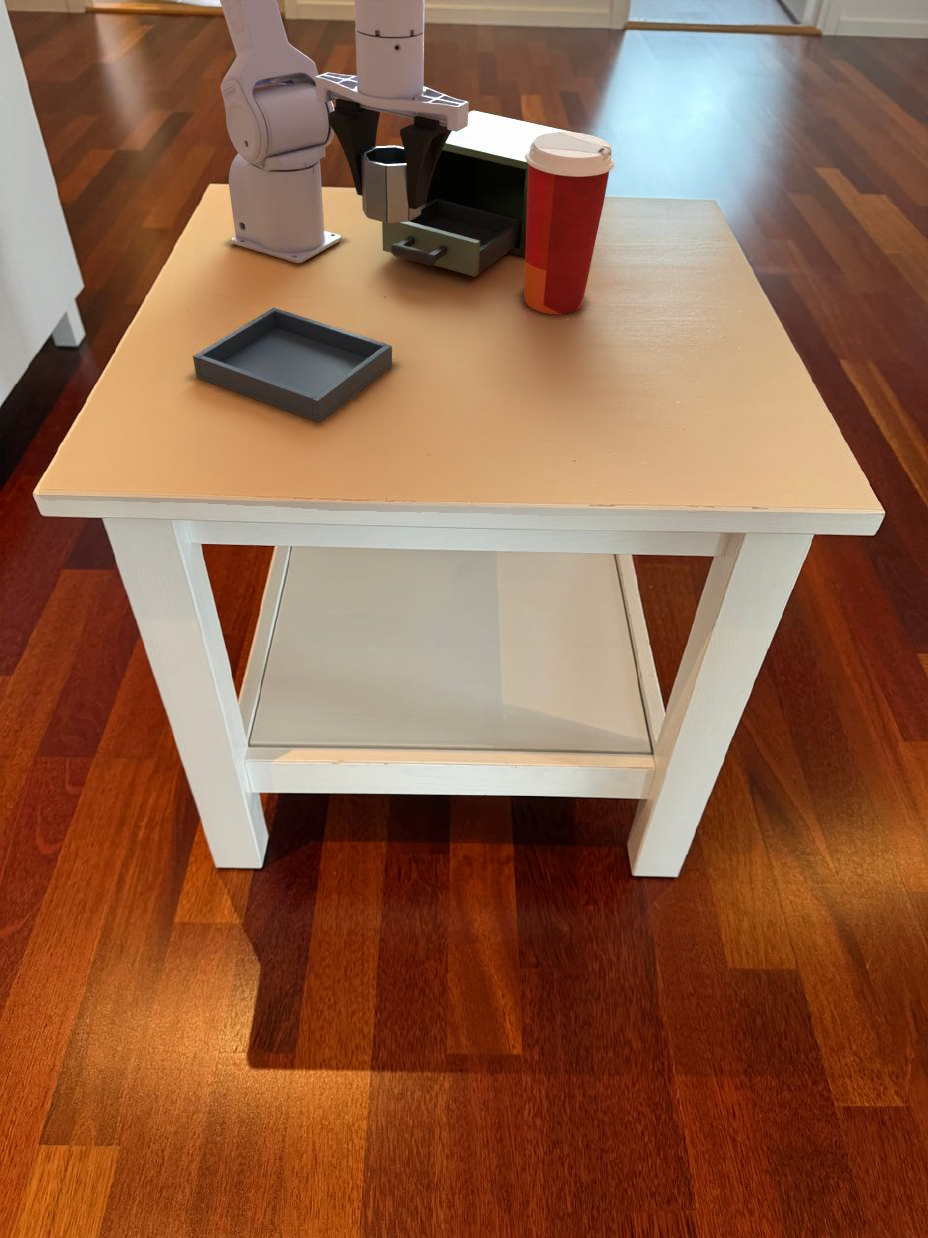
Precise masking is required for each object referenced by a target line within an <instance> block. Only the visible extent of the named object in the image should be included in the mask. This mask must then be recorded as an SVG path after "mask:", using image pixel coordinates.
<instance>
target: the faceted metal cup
mask: <svg viewBox="0 0 928 1238" xmlns="http://www.w3.org/2000/svg"><path fill="white" fill-rule="evenodd" d="M361 179H362V196H361V200H362V201H361V203H362V205H361V206H362V212H363V213H364V216H365V217H366V218H367V219H370V220H372V221H373V220H374V221H378V222H380V223H382V222H384V223H386V222H387V223H396V222H408V221H411V220H413V219H414V218H416V217H417V216H419V215H420V214H421V207H419V208H417V209H411V208H409V205H408V198H407V165H406V158H405V152H404V147H403V146H399V145H382V146H375V147H372V148H370V149H368V150H366V151H364V152H362V153H361Z"/></svg>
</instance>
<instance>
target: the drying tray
mask: <svg viewBox="0 0 928 1238" xmlns="http://www.w3.org/2000/svg"><path fill="white" fill-rule="evenodd" d="M192 360H193V365H194V371H195V376H196V377H195V378H197V379H198V380H202V381H205V382H206V383H209V384H213V385H215V386H217V387H220V388H223V389H226V390H228V391H231V392H234V393H236V394H239V395H242V396H245V397H248V398H250V399H253V400H255V401H258V402H262V403H264V404H267V405H270V406H272V407H275V408H277V409H280V410H283V411H285V412H289V413H290V414H294V415H296V416H299V417H302V418H305V419H307V420H311V421H313V422H316V423H321V422H323V421H324V420H325V419H327V418H328V417H329V416H330V415H332V414H333V413H335V412H336V411H337V410H338V409H340V408H341V407H342V406H344V405H345V404H346V403H347V402H349V401H350V400H351V399H353V398H354V397H355V396H356V395H358V394H359V393H360V392H361V391H363V390H364V389H365V388H367V387H368V386H369V385H371V384H372V383H373V382H374V381H376V380H377V379H378V378H379V377H381V376H382V375H384V374H385V373H386V372H387V371H388V370H390V369H391V368H392V367H393V345H391V344H387V343H385V342H382V341H380V340H379V341H378V340H375V339H373V338H369V337H366V336H363V335H361V334H358V333H354V332H351V331H348V330H344V329H341V328H339V327H336V326H333V325H330V324H326V323H324V322H321V321H318V320H315V319H312V318H309V317H305V316H302V315H299V314H296V313H293V312H290V311H287V310H284V309H280V308H277V307H272V308H270V309H268V310H266V311H264V312H263V313H261V314H260V315H258V316H256V317H255V318H253V319H252V320H250V321H249V322H247V323H245V324H243V325H242V326H240V327H239V328H237V329H235V330H233V331H232V332H231V333H228V334H227V335H226V336H224V337H222V338H220V339H219V340H217V341H215V342H214V343H212V344H210V345H209V346H207V347H206V348H204V349H202V350H200V351H199V352H197V353H195V354H194V355H192Z"/></svg>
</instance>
